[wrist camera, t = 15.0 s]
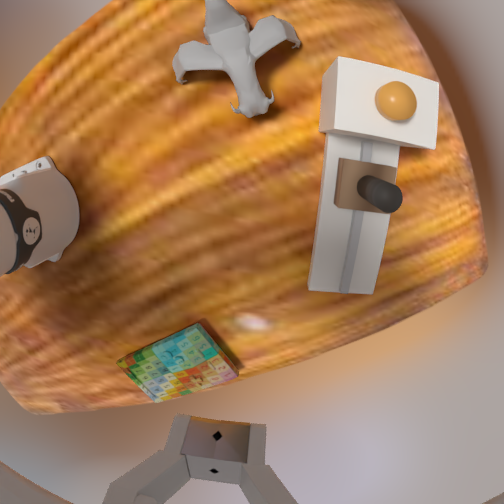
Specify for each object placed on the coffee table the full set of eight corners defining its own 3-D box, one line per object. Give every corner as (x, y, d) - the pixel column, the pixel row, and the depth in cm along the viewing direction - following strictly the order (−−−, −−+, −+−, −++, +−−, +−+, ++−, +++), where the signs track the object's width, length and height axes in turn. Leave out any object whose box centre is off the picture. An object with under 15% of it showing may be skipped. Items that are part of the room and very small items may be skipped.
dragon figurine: (164, 82, 36) (140, 78, 27) (211, -6, 29) (200, -31, 21) (259, 121, 38) (261, 126, 30) (308, 32, 32) (323, 15, 24)
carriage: (333, 203, 37) (352, 223, 28) (338, 157, 35) (360, 163, 26) (382, 209, 37) (413, 230, 28) (388, 165, 35) (422, 174, 26)
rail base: (300, 283, 44) (307, 320, 35) (322, 75, 34) (338, 56, 24) (379, 288, 44) (401, 323, 35) (409, 94, 33) (444, 85, 24)
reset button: (373, 116, 26) (380, 114, 24) (375, 80, 25) (382, 76, 23) (407, 124, 26) (415, 123, 24) (409, 89, 24) (417, 86, 23)
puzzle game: (237, 379, 47) (154, 406, 51) (240, 361, 51) (160, 390, 56) (195, 330, 43) (114, 366, 48) (201, 314, 48) (123, 351, 52)
